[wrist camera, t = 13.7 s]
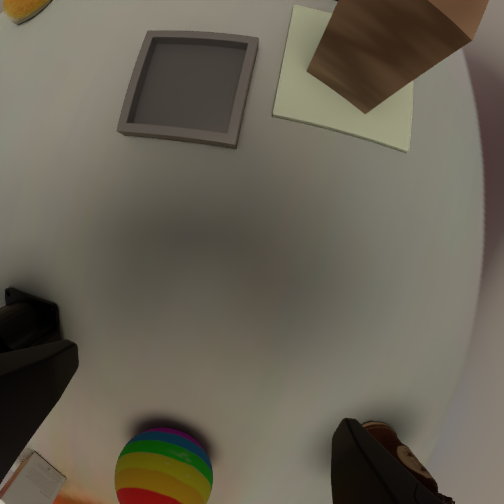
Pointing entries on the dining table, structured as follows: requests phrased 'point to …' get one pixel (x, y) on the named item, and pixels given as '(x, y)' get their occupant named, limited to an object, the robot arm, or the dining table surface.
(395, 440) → the coffee cup
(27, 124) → the dining table surface
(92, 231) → the dining table surface
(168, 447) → the decorative egg
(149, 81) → the tray
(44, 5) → the bread roll
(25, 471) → the small box
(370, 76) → the walnut block
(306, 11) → the pad
